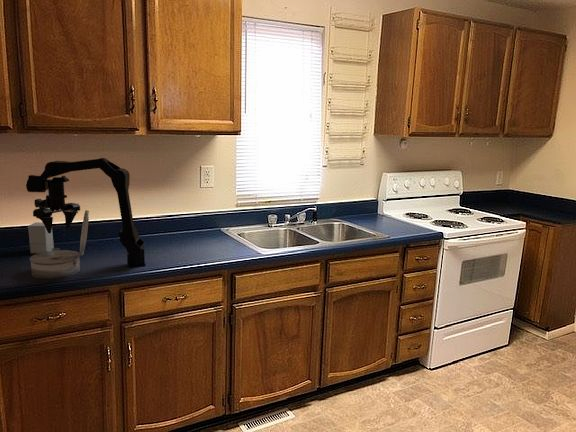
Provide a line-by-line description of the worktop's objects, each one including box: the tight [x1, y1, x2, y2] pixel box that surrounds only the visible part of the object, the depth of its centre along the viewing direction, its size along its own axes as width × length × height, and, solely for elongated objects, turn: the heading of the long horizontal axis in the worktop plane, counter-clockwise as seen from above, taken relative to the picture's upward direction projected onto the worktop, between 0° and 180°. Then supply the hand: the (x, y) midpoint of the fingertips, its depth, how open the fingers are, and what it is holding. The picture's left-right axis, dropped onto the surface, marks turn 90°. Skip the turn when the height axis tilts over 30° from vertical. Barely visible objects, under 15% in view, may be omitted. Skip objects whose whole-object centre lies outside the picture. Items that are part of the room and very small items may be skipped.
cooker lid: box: [79, 210, 90, 256], centre depth 188 cm, size 18×18×1 cm
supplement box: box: [27, 221, 55, 254], centre depth 212 cm, size 7×7×13 cm
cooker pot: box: [29, 247, 81, 280], centre depth 189 cm, size 18×25×6 cm
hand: (58, 230), depth 193 cm, fingers open, 9 cm apart
